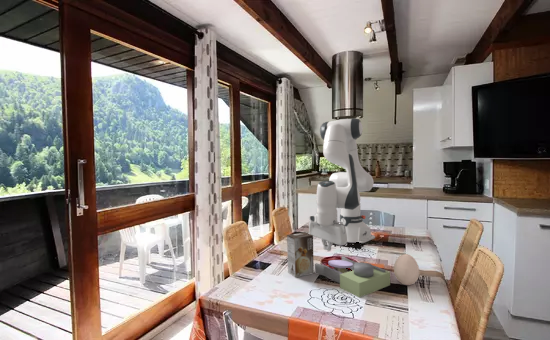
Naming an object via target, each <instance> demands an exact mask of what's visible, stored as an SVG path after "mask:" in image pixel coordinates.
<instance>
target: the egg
mask: <svg viewBox="0 0 550 340" xmlns="http://www.w3.org/2000/svg"><path fill="white" fill-rule="evenodd" d="M393 273H394V276H395V278H396V279H397V281H398V282H399V283H400V284H402V285H404V286H411V285H413V284H415V283H417V282H418V279H419V276H420V267H419V265H418V262H417V261H416V259H415V258H414V257H413V256H412V255H410V254H409V253H403V254H401V255H399V256H397V258H396V260H395V263H394V265H393Z"/></svg>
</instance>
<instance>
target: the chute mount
mask: <svg viewBox="0 0 550 340" xmlns="http://www.w3.org/2000/svg"><path fill="white" fill-rule="evenodd" d="M341 260H343V261H348V262H351V263H353V267H352V268H350V269H351V270H354V264H355V263H358V262H357V261H354V260H352V259H349V258H347V257H346V256H344V255H341ZM351 270H350V271H351ZM314 274H316V275H320V276H324V277H326V278H328V279H330V280H331V281H334V282H335V283H338V284H340V274H343V273H341V272H339V271H337V270H335V269H334V268H333V267H331V266H329V265H326V264H321V263H316V262H315V263H314Z"/></svg>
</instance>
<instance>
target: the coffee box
mask: <svg viewBox="0 0 550 340" xmlns="http://www.w3.org/2000/svg"><path fill="white" fill-rule="evenodd" d="M286 240H287V241H286V242H287V244H286V245H287V246H286V247H287V252H286V253H287V273H288V274H289V275H290V276H293V277H294V278H300V277H304V276H307V275H308V276H309V275H312V274H315V263H314V236H313V235H311V234H310V233H309V232H305V231H303V232H296V233H291V234H287V235H286Z"/></svg>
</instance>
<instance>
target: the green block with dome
mask: <svg viewBox="0 0 550 340" xmlns="http://www.w3.org/2000/svg"><path fill="white" fill-rule="evenodd" d="M389 286H391V271H389V270H386V269H384V268H383V267H379V266H377V265H373V264H371V263H369V262H363V261H361V262H357V263H355V264H354V270H352V271H351V270H348V272H346V273H343V274H340V283H339V288H340V289H341V290H344V291H346V292H347V293H350V294H351V295H353V296H355V297H357V298H362V297H364V296H367V295H369V294H372V293H374V292H376V291H379V290H382V289H383V288H387V287H389Z"/></svg>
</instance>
